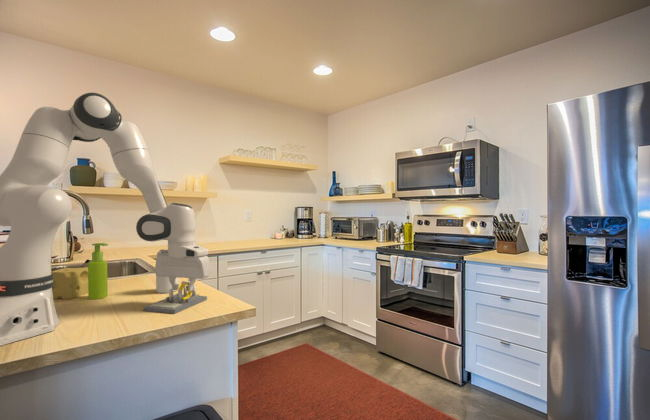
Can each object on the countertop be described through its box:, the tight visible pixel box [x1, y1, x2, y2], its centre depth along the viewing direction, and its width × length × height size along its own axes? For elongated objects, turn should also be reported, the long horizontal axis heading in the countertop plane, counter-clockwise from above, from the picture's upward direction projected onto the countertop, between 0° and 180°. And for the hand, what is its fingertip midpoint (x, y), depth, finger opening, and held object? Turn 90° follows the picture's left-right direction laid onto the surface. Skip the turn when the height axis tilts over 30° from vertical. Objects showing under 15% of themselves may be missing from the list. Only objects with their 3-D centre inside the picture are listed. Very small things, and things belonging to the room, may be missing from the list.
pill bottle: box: [155, 274, 180, 294], centre depth 132 cm, size 8×8×15 cm
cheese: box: [51, 267, 88, 300], centre depth 126 cm, size 10×11×10 cm
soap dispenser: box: [87, 242, 109, 300], centre depth 123 cm, size 6×7×20 cm
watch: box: [178, 280, 192, 300], centre depth 115 cm, size 6×3×6 cm, turn 166°
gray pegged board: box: [143, 284, 208, 315], centre depth 113 cm, size 16×12×5 cm
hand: (182, 290), depth 116 cm, fingers open, 4 cm apart
